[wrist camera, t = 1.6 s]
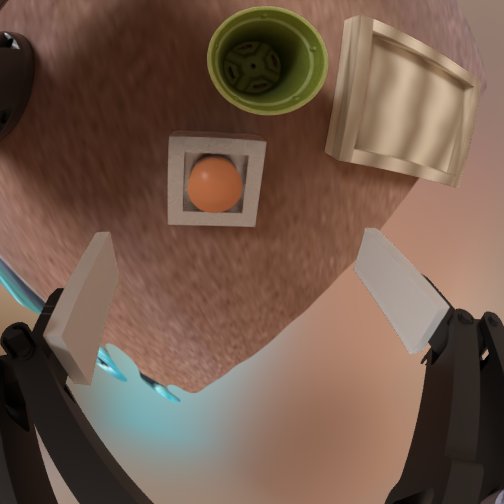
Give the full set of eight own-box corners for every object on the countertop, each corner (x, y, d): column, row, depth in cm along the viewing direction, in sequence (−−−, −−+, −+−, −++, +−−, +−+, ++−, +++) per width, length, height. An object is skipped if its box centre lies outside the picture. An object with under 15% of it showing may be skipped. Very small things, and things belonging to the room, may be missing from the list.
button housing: (172, 207, 32) (168, 224, 28) (174, 130, 27) (169, 136, 23) (248, 209, 33) (254, 226, 29) (258, 134, 29) (266, 141, 25)
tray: (324, 151, 31) (338, 160, 27) (344, 20, 22) (361, 14, 18) (441, 178, 35) (458, 188, 31) (461, 78, 26) (480, 81, 23)
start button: (188, 200, 29) (186, 212, 26) (190, 153, 26) (188, 161, 23) (236, 202, 29) (239, 213, 27) (240, 156, 27) (244, 163, 24)
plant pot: (307, 94, 27) (342, 98, 19) (225, 121, 27) (232, 131, 20) (280, 19, 22) (306, -3, 14) (194, 44, 22) (189, 26, 15)
